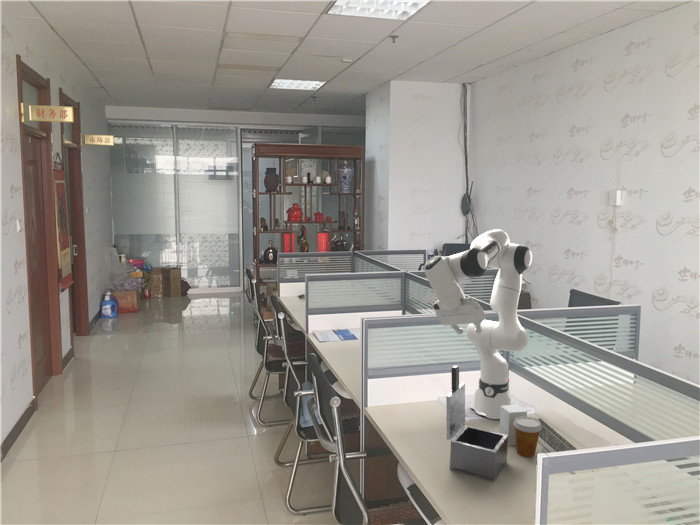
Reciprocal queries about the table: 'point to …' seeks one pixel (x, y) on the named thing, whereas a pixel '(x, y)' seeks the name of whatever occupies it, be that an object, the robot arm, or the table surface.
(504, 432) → the supplement box
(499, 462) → the open gray square box
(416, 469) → the table surface
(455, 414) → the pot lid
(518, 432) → the disposable coffee cup
